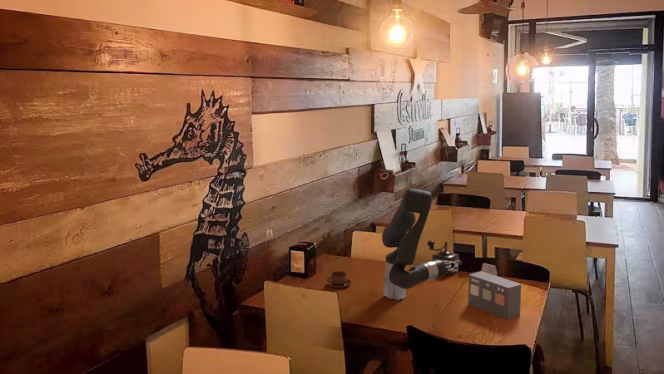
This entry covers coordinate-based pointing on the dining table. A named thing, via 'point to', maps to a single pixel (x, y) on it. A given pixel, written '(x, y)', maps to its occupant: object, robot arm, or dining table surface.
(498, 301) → the button terracotta
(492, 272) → the pale pink rectangular block
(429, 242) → the dark brown coffee grinder
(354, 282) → the dining table surface
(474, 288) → the button cream
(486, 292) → the button sage
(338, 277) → the cup and saucer
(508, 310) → the console
